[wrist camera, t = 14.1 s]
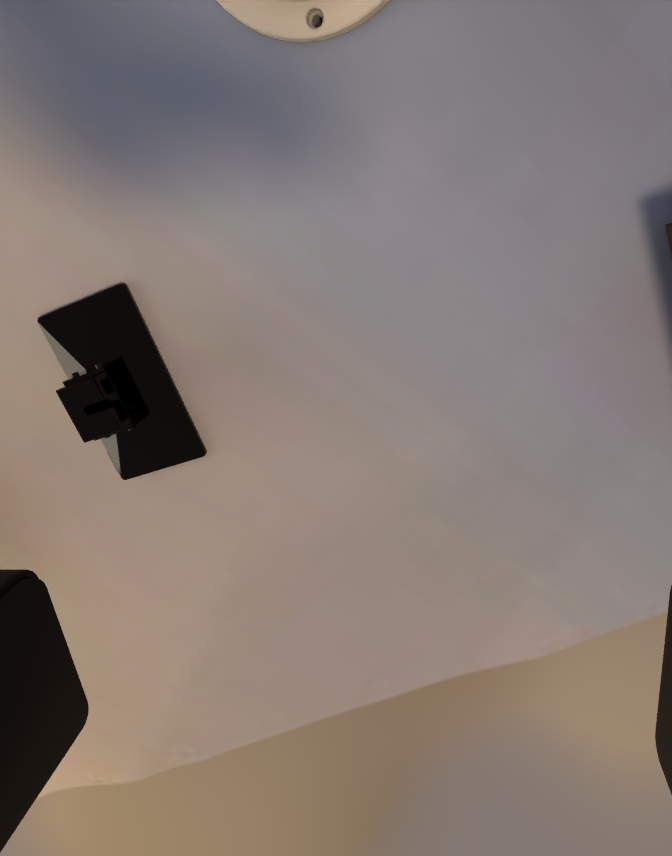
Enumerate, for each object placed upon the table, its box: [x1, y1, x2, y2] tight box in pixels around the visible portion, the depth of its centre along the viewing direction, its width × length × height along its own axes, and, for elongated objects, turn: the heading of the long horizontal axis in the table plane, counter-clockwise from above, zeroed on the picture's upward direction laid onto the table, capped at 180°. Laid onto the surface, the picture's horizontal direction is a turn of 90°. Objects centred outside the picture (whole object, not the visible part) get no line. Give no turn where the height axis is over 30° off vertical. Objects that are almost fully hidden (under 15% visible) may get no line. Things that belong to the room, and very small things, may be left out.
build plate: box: [38, 283, 207, 480], centre depth 38 cm, size 12×7×5 cm, turn 21°
